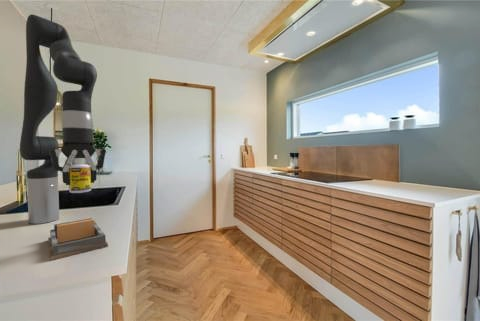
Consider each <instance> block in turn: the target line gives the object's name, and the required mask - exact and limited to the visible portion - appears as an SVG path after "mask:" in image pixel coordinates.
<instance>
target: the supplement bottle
mask: <svg viewBox="0 0 480 321" xmlns="http://www.w3.org/2000/svg"><path fill="white" fill-rule="evenodd" d="M87 163H88V161H87V160H86V158H74V160H73V162H72V164H71V165H70V167H69V169H68V172H69V185H68V191H69V193H72V194H82V193H89V192H90V191H92V183H91V167H90V165H89V164H87Z"/></svg>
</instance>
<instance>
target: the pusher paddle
mask: <svg viewBox="0 0 480 321" xmlns="http://www.w3.org/2000/svg"><path fill="white" fill-rule="evenodd" d="M90 219H91V218H90ZM84 220H85V219H84ZM78 221H79V220H78ZM94 222H95V219H94V218H92V219H91V220H85V221H79V222H73V223H67V224H61V225H57V240H58V243H60V242H65V241H69V240H74V239H79V238H84V237H88V236H93V235H95V229H94Z"/></svg>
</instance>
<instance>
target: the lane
mask: <svg viewBox="0 0 480 321" xmlns="http://www.w3.org/2000/svg"><path fill="white" fill-rule="evenodd" d="M91 219H93V218H91V217H90V218H85V219H80V220H73V221H67V222H62V223H56V224H54V225H53V227H54V228H53V229H50V230H49V233H50V237H48V248H49V256H50V261H53V260H58V259H63V258H65V257H66V258H68V257H70V256H74V255H78V254H84V253H86V252H92V251H95V250H98V249H103V248H107V247H109V242H107V240H106V234H105V233H104V231H103V230H102V228H101V227H100V226H99V225H98V223H97V222H95V221H94V229H95V235H93V236H88V237H84V238H79V239H74V240H69V241H65V242H60V243H58V240H57V225H61V224H67V223H73V222H79V221H85V220H91Z"/></svg>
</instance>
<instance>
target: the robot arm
mask: <svg viewBox="0 0 480 321" xmlns="http://www.w3.org/2000/svg"><path fill="white" fill-rule="evenodd" d="M25 43H26V47H25V48H26V51H25V52H26V64H25V66H26V67H25V78H24V92H23V97H24V98H23V119H22V126H21V135H20V142H19V154H20V157H21V158H22V159H23V160H25V161H43V163H42V164H41V165H39V166H37V167H35V168H32V169H29V170H27V171H26V185H27V186H26V187H27V191H26V192H27V208H28V211H27V215H28V216H27V217H28V224H30V225H31V224H32V225H39V224H45V223H51V222H54V221H57V220H59V219H60V200H59V198H60V197H59V194H60V193H59V174H58V173H59V172H61V174H62V175H61V176H62V183H63V184H65V185H66V186H69V172H68V169H69V167H70V165H72V162H73V160H74V158H86V160H87V161H88V163H87V164H89V165H90V167H91V184H93V183H95V182H96V181H97V179H98V178H97V172H98V170H100V169H102V168H103V167H104V162H105V157H106V150H105V149H104V148H103V149H98V148H96V147H95V145H94V144H95V143H94V121H93V114H92V97H93V96H92V95H93V92H94V89H95V86H96V82H97V79H98V72H97V70H96V67H95V65H93V64H92V63H90V62H88V61H83V60H82V59H81V58H80V55H79V54H78V53H77V51H76V50H75V49H74V48H73V44H72V41H71V38H70V36H69V33H68V31H67V29H66V28H65V27H64V26H63V25H61V24H60V23H57V22H55V21H52V20H49V19H46V18H44V17H42V16H38V15H36V14H30V15H28V17H27V18H26V26H25ZM40 46H41V47H44V48H48V49H49V55H50V57H51V59H52V61H53V65H52V72H53V75H54V77H55V78H56V79H58V80H59V81H61V82H63V83H68V84H72V85H73V84H74V85H79V86H81V88H80V90H65V91H63V92H62V95H61V101H62V103H61V104H62V105H61V106H62V114H61V115H62V116H61V127H62V128H61V131H62V132H61V133H62V146H61V147H60V146H59V142H58V139H57V137H54V136H44V135H43V136H41V135H37V131H38V130H39V126H40V125H41V123H42V122H43V120H44V119H45V118H46V117H48V115H49V114H50V113H52V111H54V109H55V108H56V106H57V103H58V89H59V86H58V85H57V81H55V79H54V77H53V75H52V73H51V72H50V70H49V69H48V67H47V65H46V64H45V62H44V59H43V57H42V53H41V50H40ZM61 153H62V154H63V155H64V156H65V157H66V160H65V162H64V164H63V166H60V164H59V163H60V161H59V159H60V154H61ZM95 153H96V156H98V159H97V163H96V165H95V163H94V161H93V158H92V156H93V155H94V154H95Z"/></svg>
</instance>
